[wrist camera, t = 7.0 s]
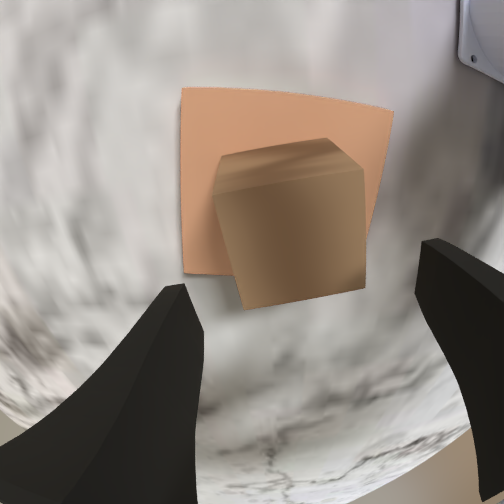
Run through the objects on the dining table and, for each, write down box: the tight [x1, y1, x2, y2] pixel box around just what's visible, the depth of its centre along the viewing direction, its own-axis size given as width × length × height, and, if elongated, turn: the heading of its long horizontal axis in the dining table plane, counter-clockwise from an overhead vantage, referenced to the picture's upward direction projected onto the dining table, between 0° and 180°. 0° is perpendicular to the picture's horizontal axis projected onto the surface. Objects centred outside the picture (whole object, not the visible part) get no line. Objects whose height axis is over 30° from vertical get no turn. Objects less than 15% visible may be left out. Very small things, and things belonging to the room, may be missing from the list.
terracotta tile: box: [181, 87, 394, 276], centre depth 16 cm, size 10×10×1 cm
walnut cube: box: [212, 138, 366, 310], centre depth 13 cm, size 5×5×5 cm
